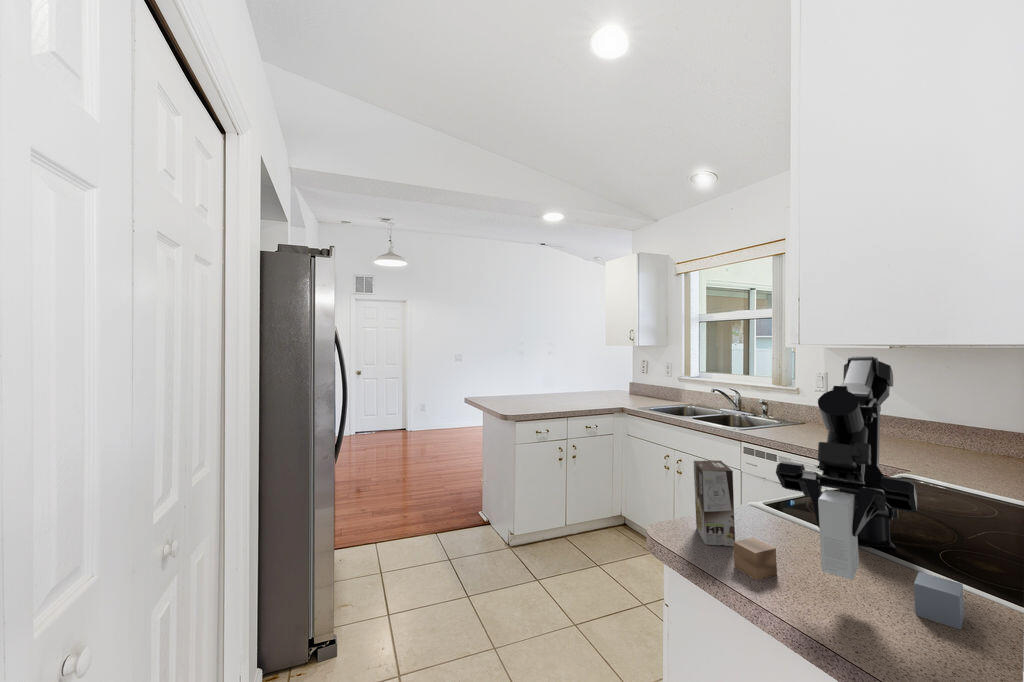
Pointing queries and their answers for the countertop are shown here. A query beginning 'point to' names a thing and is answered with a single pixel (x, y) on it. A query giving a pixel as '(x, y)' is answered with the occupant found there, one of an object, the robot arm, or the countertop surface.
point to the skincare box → (838, 534)
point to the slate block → (939, 600)
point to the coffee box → (714, 502)
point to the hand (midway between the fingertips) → (836, 531)
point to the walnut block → (755, 558)
